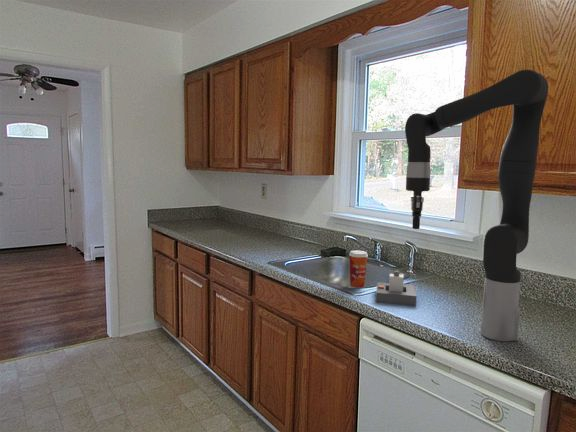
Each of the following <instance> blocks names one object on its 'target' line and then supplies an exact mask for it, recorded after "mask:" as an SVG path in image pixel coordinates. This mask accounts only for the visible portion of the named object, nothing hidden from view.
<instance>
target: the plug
mask: <svg viewBox="0 0 576 432" xmlns="http://www.w3.org/2000/svg"><path fill="white" fill-rule="evenodd" d="M404 279H405V278H404V274H400V271H399V270H394V271H393V273H389V280H388V283H389V291H396V292H403V284H404Z"/></svg>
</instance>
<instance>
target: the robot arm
mask: <svg viewBox="0 0 576 432" xmlns="http://www.w3.org/2000/svg"><path fill="white" fill-rule="evenodd" d="M548 93H549V83H548V80H547V79H546V77H545V76H544V75H543V74H541V73H539V72H537V71H535V70H532V69H521V70H518V71H516V72H514V73H513V74H511V75H509V76H507V77H504V78H503V79H502V80H500V81H498V82H496V83H494V84H492V85H490V86H488V87H485V88H484V89H481V90H480V91H477V92H475V93H473V94H470V95H467V96H464V97H462V98H458V99H457V100H453V101H451V102H448V103H446V104H443V105H441V106H439V107H437V108H436V109H435V111H433V112H430V113H428V114H424V113H418V112H417V113H413V114H410V115H409V116H408V117H407V119H406V122H405V126H404V133H405V139H406V145H407V148H408V149H407V150H408V152H407V165H406V176H405V177H406V178H405V190H406V191H408V192H413V194H412V195H411V196H410V202H411V203H410V204H411V207H410V210H411V216H412V229H413V230H419V229H420V226H421V224H420V222H421V217H422V211H423V209H424V207H423V206H424V201H425V200H424V199H425V197H424V196H422V193H423V192H429V191H430V190H431V154H432V152H431V146H430V145H429V144H428V143H427V138H426V137H430V136H432V135H435V134H438V133H440V132H441V131H442V130H445V129H447V128H452V127H455V126H458V125H460V124H463V123H466V122H468V121H470V120H473V119H474V118H476V117H479V116H480V115H482V114H484V113H486V112H488V111H489V112H490V111H491V110H494V109H497V108H501V107H507V106H512V120H511V125H510V129H509V132H508V133H507V136H506V139H505V141H504V143H503V146H502V148H501V149H502V150H501V153H500V156H499V162H498V171H497V181H498V187H499V191H500V195H501V199H502V212H501V218H500V222H499V224H497V225H493V226H491V227H490V228H489V229H488V230H487V231H486V233H485V235H484V240H483V253H482V255H483V257H482V262H483V263H482V265H483V270H484V273H485V274H484V285H483V295H482V296H483V299H482V308H481V311H482V312H481V321H480V322H481V323H480V334H481V336H483V337H485V338H487V339H489V340H492V341H497V342H513V341H516V342H518V337H519V336H518V335H519V325H520V316H521V315H520V314H521V309H520V307H519V302H520V301H519V298H520V288H521V278H522V273H521V270H520V269H518V267H517V255H519V254H520V253H523V251H524V250H525V249H526V248H527V246H528V243H529V235H530V233H529V232H530V207H531V201H532V195H533V188H534V181H535V176H536V169H537V162H538V152H539V144H540V129H541V121H542V117H543V113H544V110H545V105H546V101H547V97H548Z"/></svg>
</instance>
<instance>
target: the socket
mask: <svg viewBox="0 0 576 432" xmlns="http://www.w3.org/2000/svg"><path fill="white" fill-rule="evenodd" d="M375 292H376V293H375V302H376V301H378V302H377V303H382V302H385V303H384V304H393V303H395V304H394V305H396V304H397V305H406V306H415V307H416V306H417V292H416V286H415V285H414V284H405V283H403V292H396V291H389V282H379V281H377V283H376V291H375Z"/></svg>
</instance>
